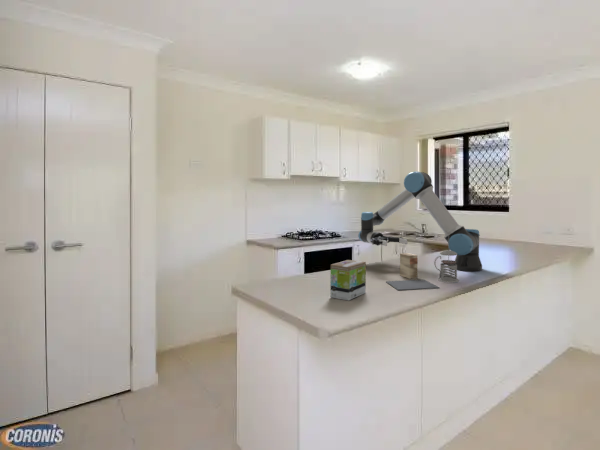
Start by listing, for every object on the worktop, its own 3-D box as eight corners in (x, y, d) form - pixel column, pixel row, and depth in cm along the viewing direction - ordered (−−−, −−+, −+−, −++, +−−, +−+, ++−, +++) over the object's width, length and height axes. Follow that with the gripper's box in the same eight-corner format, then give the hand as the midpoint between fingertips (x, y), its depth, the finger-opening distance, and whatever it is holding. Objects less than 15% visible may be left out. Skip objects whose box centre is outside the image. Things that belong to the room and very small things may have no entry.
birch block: (407, 274, 199) (407, 252, 198) (417, 277, 191) (417, 255, 190) (400, 275, 197) (400, 253, 196) (409, 278, 189) (409, 255, 188)
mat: (424, 280, 185) (424, 279, 185) (439, 288, 169) (439, 287, 169) (386, 282, 182) (386, 281, 182) (398, 290, 167) (398, 289, 167)
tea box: (350, 301, 152) (349, 266, 151) (329, 297, 158) (329, 264, 157) (366, 293, 164) (366, 260, 163) (347, 290, 170) (346, 258, 169)
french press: (461, 282, 178) (461, 232, 176) (436, 282, 180) (436, 232, 178) (456, 278, 187) (457, 230, 185) (433, 277, 190) (433, 230, 188)
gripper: (392, 243, 226) (414, 247, 207) (357, 245, 218) (377, 250, 198) (392, 231, 226) (415, 234, 206) (357, 233, 217) (377, 237, 197)
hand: (396, 242), depth 202 cm, fingers open, 13 cm apart
